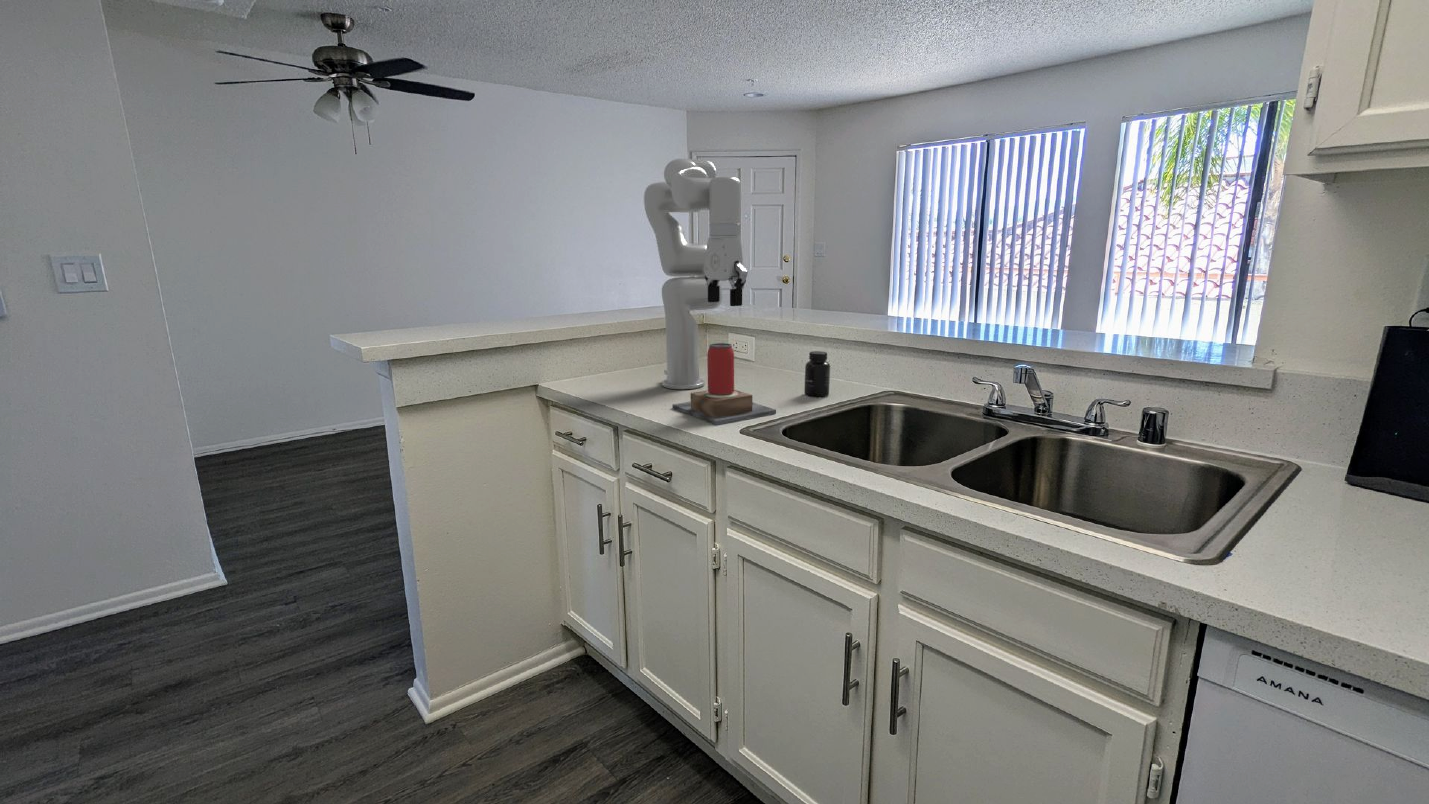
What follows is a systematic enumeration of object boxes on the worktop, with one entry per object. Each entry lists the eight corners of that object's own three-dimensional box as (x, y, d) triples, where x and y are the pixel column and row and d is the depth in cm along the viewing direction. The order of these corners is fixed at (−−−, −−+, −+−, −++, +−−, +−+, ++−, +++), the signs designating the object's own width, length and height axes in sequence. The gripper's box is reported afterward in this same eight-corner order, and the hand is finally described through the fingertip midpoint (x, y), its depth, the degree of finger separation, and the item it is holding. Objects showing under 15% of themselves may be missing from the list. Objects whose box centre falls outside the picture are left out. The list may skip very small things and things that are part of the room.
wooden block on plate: (672, 408, 173) (671, 388, 171) (729, 398, 183) (729, 379, 181) (716, 425, 157) (716, 403, 155) (776, 413, 166) (776, 393, 165)
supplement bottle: (801, 396, 184) (802, 353, 181) (807, 391, 190) (808, 349, 187) (826, 398, 181) (827, 355, 179) (831, 393, 188) (833, 351, 185)
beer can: (732, 396, 162) (732, 347, 159) (705, 395, 163) (704, 346, 160) (736, 390, 169) (735, 343, 166) (710, 389, 170) (709, 342, 167)
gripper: (692, 231, 164) (693, 301, 169) (732, 232, 150) (732, 308, 155) (717, 231, 168) (717, 299, 173) (759, 231, 154) (758, 306, 159)
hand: (724, 303), depth 164 cm, fingers open, 9 cm apart
